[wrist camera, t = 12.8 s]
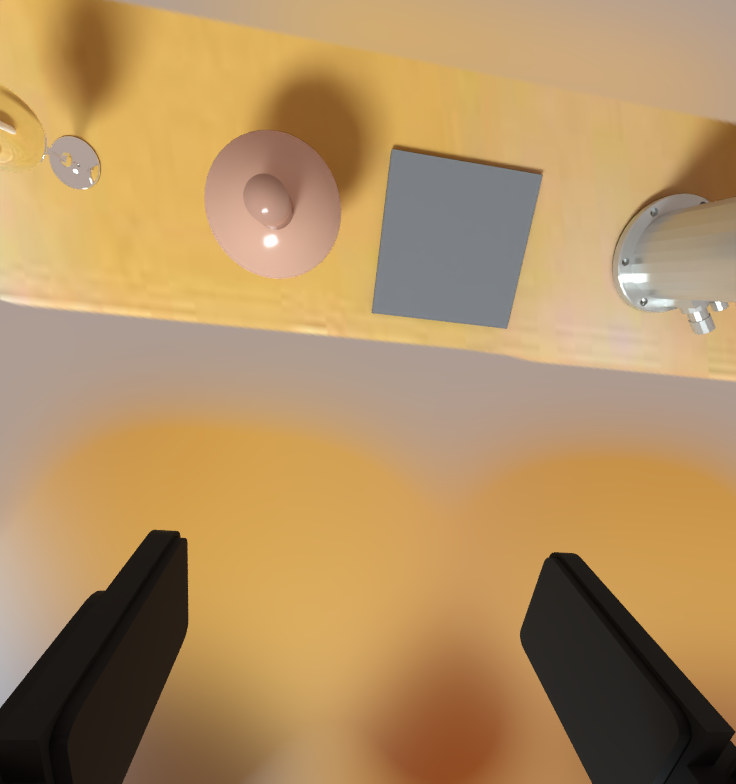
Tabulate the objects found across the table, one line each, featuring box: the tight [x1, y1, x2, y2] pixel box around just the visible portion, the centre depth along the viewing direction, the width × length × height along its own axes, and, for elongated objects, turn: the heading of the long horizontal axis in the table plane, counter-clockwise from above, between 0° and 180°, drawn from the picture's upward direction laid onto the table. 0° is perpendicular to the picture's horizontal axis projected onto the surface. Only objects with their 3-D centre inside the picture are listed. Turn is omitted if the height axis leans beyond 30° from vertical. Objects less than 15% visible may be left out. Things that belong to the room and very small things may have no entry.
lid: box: [205, 130, 341, 279], centre depth 28 cm, size 11×11×4 cm
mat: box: [372, 149, 542, 329], centre depth 38 cm, size 16×16×1 cm
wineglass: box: [0, 83, 100, 190], centre depth 28 cm, size 6×6×12 cm
